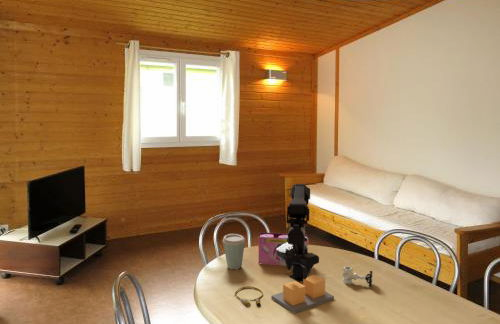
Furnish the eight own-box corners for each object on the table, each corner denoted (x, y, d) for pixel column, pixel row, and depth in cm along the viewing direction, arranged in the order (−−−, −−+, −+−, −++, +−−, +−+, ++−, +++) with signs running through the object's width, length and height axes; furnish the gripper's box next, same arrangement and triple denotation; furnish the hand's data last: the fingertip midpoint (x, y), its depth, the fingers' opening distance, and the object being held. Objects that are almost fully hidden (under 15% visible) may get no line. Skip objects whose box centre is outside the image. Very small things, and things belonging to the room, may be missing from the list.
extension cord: (228, 305, 151) (228, 300, 151) (239, 287, 167) (238, 283, 166) (259, 309, 149) (259, 304, 148) (267, 290, 164) (267, 286, 164)
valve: (341, 285, 168) (371, 289, 163) (341, 270, 167) (371, 274, 163) (343, 278, 174) (372, 283, 170) (344, 264, 173) (372, 268, 169)
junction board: (271, 298, 156) (271, 281, 155) (309, 286, 167) (310, 269, 166) (294, 313, 144) (294, 294, 143) (333, 299, 155) (334, 281, 154)
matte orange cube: (295, 295, 156) (295, 280, 155) (305, 301, 151) (305, 286, 150) (283, 299, 153) (283, 284, 152) (293, 305, 148) (293, 290, 147)
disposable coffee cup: (249, 265, 189) (249, 235, 187) (237, 273, 180) (236, 241, 178) (231, 261, 194) (231, 231, 192) (218, 268, 185) (217, 237, 183)
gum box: (309, 261, 194) (309, 234, 192) (308, 267, 186) (308, 239, 185) (260, 258, 199) (260, 231, 197) (258, 264, 191) (257, 236, 189)
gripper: (265, 232, 153) (265, 271, 155) (296, 246, 138) (296, 289, 140) (288, 227, 159) (288, 265, 161) (320, 240, 143) (319, 281, 146)
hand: (296, 274), depth 152 cm, fingers open, 9 cm apart
